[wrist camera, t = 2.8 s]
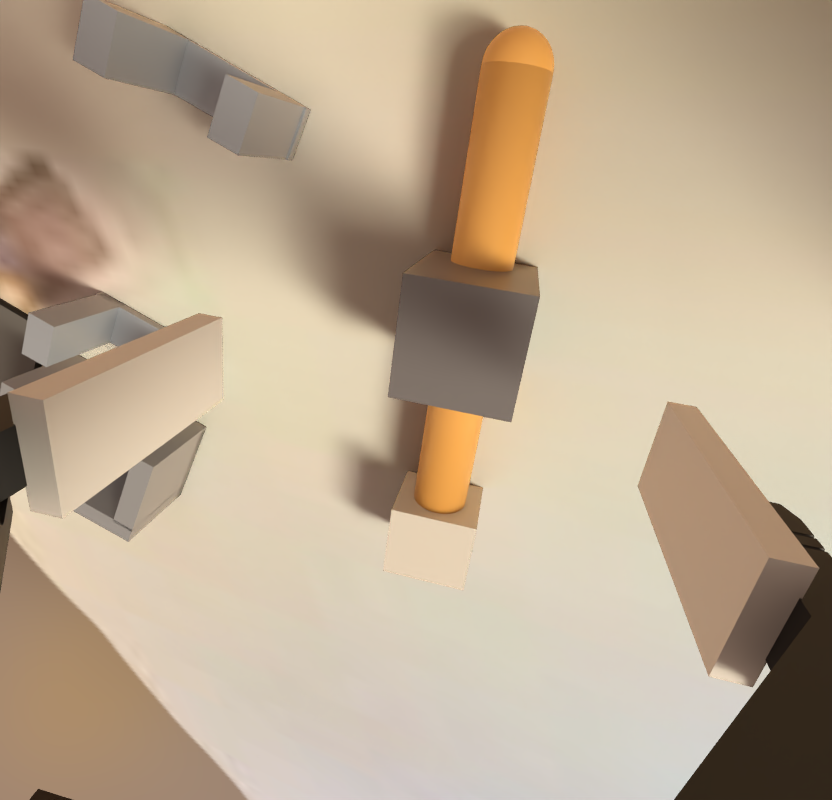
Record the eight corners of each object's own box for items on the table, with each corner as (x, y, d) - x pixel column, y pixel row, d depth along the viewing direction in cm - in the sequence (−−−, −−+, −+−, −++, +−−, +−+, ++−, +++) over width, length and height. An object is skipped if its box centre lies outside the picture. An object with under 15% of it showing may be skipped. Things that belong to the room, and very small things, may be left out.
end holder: (75, 353, 32) (1, 381, 28) (206, 427, 32) (153, 467, 28) (59, 426, 35) (-12, 463, 30) (180, 494, 35) (128, 541, 30)
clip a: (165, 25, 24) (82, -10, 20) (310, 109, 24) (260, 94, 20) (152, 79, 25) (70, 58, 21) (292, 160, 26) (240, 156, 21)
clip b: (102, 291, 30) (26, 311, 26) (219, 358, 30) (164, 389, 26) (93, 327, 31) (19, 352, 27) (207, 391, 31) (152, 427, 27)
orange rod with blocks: (465, 32, 22) (439, -26, 16) (586, 46, 22) (610, -9, 15) (394, 525, 32) (361, 609, 26) (475, 544, 32) (462, 635, 26)
